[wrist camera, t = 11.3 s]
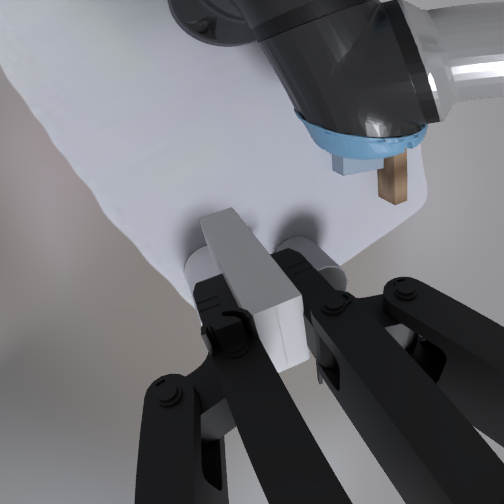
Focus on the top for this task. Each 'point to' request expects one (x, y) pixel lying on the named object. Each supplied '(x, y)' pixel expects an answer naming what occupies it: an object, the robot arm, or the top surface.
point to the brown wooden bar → (393, 179)
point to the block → (355, 165)
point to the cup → (317, 260)
